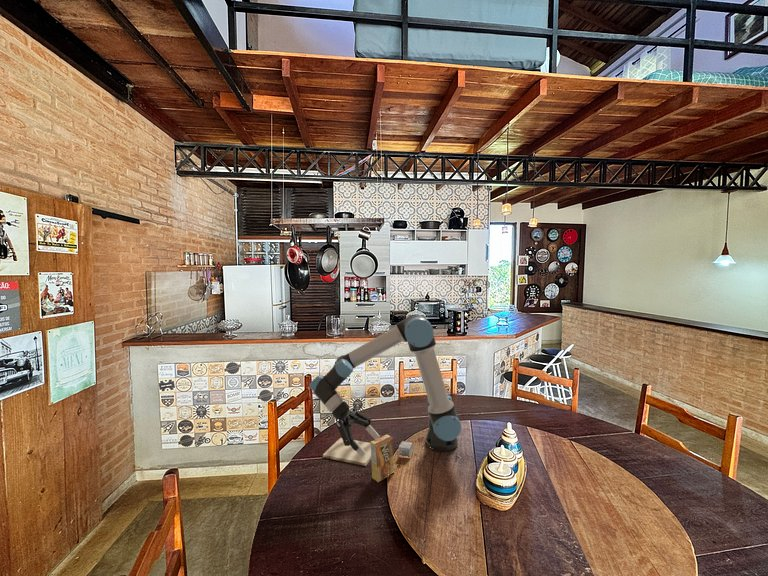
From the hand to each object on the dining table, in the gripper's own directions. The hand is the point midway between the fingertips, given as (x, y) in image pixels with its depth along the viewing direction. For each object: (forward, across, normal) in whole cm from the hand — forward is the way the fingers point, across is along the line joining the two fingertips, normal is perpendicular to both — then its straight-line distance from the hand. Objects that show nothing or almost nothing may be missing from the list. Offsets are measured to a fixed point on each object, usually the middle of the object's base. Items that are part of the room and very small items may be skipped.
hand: (371, 446), depth 134 cm
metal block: (+14, -18, -2) cm, 23 cm away
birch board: (-3, -12, -20) cm, 24 cm away
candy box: (+12, 0, -5) cm, 13 cm away
